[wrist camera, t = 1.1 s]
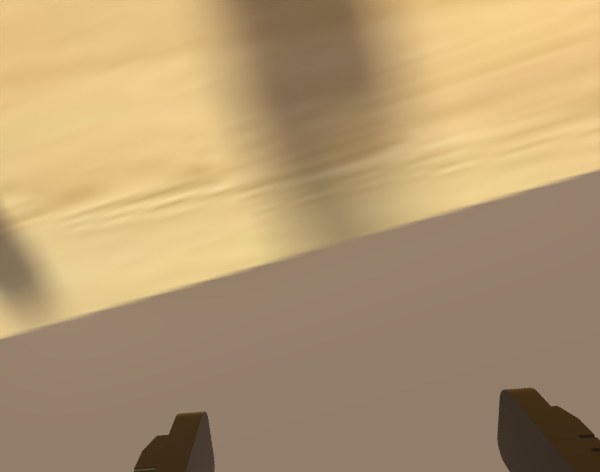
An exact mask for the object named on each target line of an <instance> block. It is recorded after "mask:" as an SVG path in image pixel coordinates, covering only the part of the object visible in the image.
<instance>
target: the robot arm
mask: <svg viewBox="0 0 600 472" xmlns="http://www.w3.org/2000/svg"><path fill="white" fill-rule="evenodd" d="M498 446H499V450H500V454H501V457H502V459H503V461H504V463H505V465H506V466H507V468H508V469H509V471H510V472H600V440H599V439H598V438H595V436H594V434H593V433H592V432H591V431H590V430H589V429H588V428H587V427H586V426H585V425H584V424H583V423H582V422H581V421H580V420H579V419H578V418H577V417H575V416H573V415H572V414H570V413H568V412H567V411H565V410H563V409H562V408H560V407H558V406H552V407H551V406H550V405H549V404H548V403H547V402H546V401H545V399H544V398H543V397H542V396H541V395H540V394H539V393H538V392H537V391H536V390H535V389H533V388H521V389H509V390H503V391H502V392H501V395H500V405H499V420H498ZM134 472H214V455H213V448H212V442H211V435H210V428H209V421H208V416H207V413H206V412H197V413H182V414H178V415H177V416H176V418H175V420H174V423H173V425H172V428H171V430H170V433H169V435H162V436H156V437H155V438H154V439H153V441H151V443H150V444H149V445H148V446H147V447H146V448H145V449H144V450H143V451H142V453H141V455H140V457H139V460H138V462H137V464H136V466H135V468H134Z"/></svg>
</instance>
